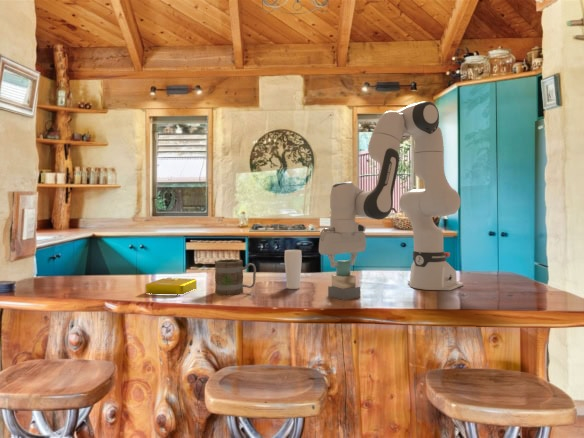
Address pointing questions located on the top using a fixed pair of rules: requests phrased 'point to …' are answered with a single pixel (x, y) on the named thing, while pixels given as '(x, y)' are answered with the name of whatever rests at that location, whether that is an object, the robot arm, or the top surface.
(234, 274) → the mug
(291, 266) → the drinking glass
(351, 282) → the tower top
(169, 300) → the top surface
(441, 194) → the robot arm
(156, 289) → the element tile
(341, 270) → the teal cylinder
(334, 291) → the tower base
